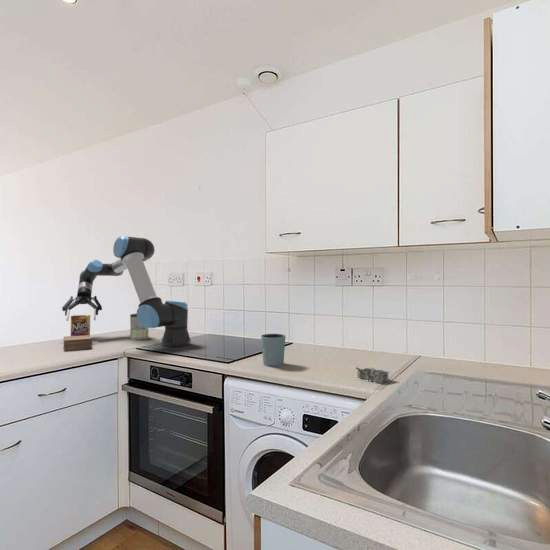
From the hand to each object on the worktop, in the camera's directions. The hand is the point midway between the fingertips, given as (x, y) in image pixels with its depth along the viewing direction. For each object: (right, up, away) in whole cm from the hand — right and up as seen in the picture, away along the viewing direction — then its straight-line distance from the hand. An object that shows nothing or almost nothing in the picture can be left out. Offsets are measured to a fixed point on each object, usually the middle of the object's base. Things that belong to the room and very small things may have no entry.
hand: (81, 319), depth 205 cm
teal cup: (+108, -13, -53) cm, 121 cm away
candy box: (+3, -12, -6) cm, 14 cm away
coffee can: (+28, -13, +12) cm, 33 cm away
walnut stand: (+8, -12, -18) cm, 23 cm away
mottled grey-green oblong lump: (+143, -13, -74) cm, 162 cm away
